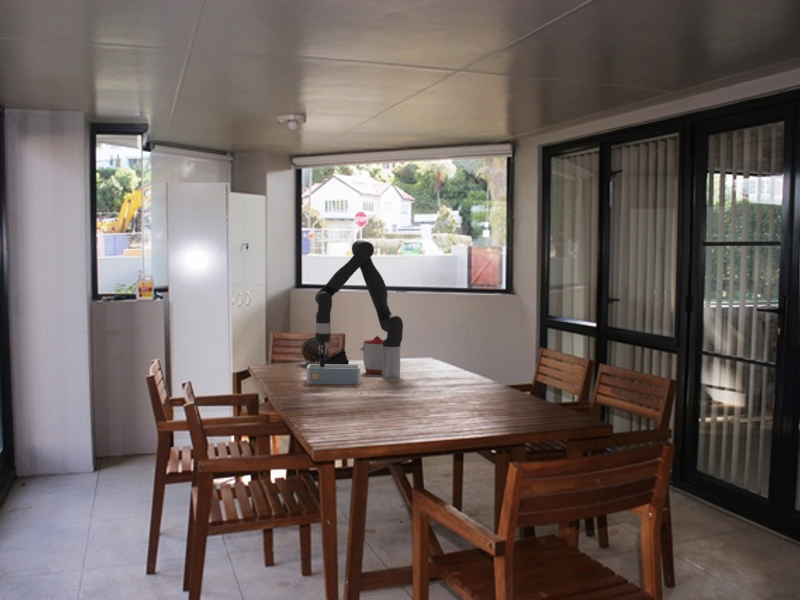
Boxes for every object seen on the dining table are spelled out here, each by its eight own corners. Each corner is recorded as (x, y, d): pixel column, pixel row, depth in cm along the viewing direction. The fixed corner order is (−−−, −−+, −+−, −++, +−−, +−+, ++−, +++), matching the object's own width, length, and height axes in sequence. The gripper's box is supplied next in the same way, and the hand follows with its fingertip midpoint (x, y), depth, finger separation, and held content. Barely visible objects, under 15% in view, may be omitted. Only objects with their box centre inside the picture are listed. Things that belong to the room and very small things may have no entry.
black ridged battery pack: (356, 374, 383) (344, 349, 380) (334, 386, 379) (322, 361, 376) (353, 373, 387) (342, 348, 383) (331, 385, 383) (320, 360, 379)
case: (308, 381, 370) (308, 364, 369) (360, 382, 371) (360, 364, 371) (306, 386, 358) (306, 368, 357) (359, 386, 359) (360, 368, 359)
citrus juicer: (360, 369, 410) (361, 333, 408) (391, 370, 409) (392, 334, 408) (357, 374, 394) (358, 337, 393) (390, 375, 393) (390, 338, 392)
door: (309, 383, 359) (309, 367, 358) (356, 383, 360) (356, 368, 359) (309, 384, 357) (309, 368, 356) (356, 384, 358) (356, 369, 357)
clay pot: (311, 349, 403) (303, 335, 426) (306, 375, 406) (298, 360, 429) (337, 351, 408) (327, 337, 431) (332, 377, 411) (323, 362, 434)
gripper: (316, 330, 369) (315, 364, 370) (314, 333, 356) (313, 368, 357) (331, 330, 370) (330, 364, 371) (329, 333, 356) (329, 369, 358)
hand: (322, 366), depth 364 cm, fingers closed
